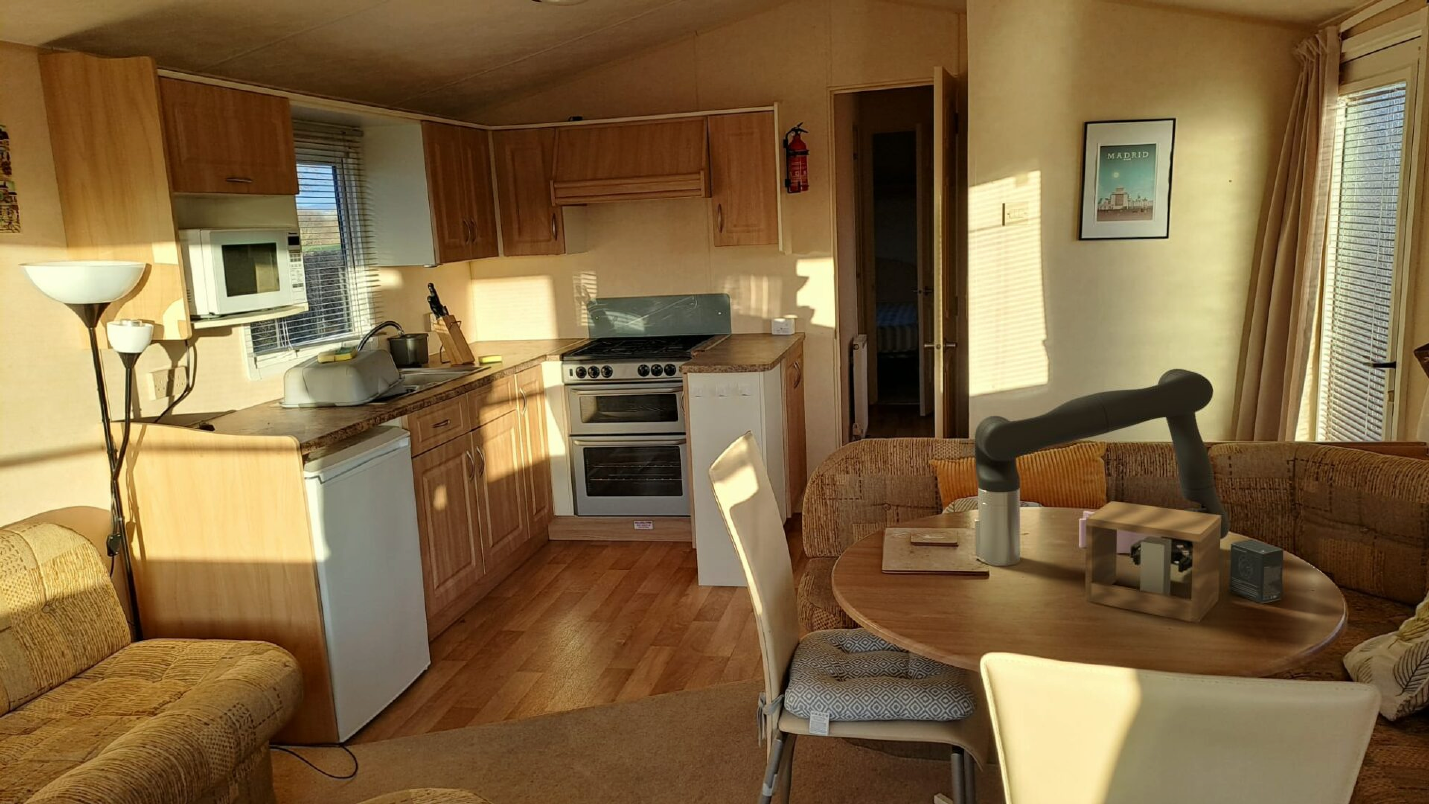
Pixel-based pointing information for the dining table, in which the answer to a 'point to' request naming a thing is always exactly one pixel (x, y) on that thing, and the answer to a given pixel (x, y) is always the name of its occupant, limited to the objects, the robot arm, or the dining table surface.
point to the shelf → (1157, 523)
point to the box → (1256, 571)
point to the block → (1155, 565)
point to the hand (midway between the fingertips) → (1158, 564)
